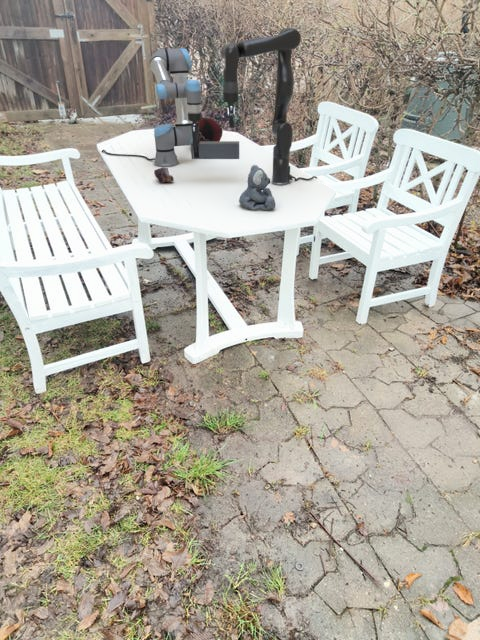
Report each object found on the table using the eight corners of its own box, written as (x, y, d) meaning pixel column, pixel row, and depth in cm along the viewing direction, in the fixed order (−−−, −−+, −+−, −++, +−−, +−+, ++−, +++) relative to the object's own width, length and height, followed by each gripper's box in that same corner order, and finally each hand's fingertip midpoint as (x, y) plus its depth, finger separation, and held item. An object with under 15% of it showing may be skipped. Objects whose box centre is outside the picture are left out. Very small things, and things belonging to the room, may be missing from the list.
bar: (191, 159, 256) (190, 143, 251) (192, 156, 260) (191, 141, 255) (239, 159, 255) (238, 143, 250) (239, 156, 259) (239, 141, 254)
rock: (168, 180, 269) (152, 182, 265) (166, 165, 265) (150, 167, 261) (175, 182, 260) (159, 184, 256) (174, 166, 256) (157, 168, 252)
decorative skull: (188, 123, 330) (185, 120, 306) (219, 116, 329) (218, 112, 306) (194, 153, 337) (192, 152, 313) (225, 146, 336) (225, 145, 313)
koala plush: (276, 211, 223) (277, 171, 212) (240, 212, 222) (240, 172, 211) (271, 199, 237) (272, 161, 226) (237, 200, 236) (237, 162, 225)
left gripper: (199, 115, 236) (201, 160, 250) (203, 109, 251) (205, 152, 264) (185, 115, 237) (188, 160, 250) (189, 109, 251) (192, 152, 264)
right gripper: (238, 93, 218) (239, 128, 227) (237, 89, 230) (238, 122, 239) (223, 93, 218) (224, 128, 227) (223, 89, 230) (223, 123, 239)
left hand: (197, 156), depth 257 cm, fingers closed on bar, 4 cm apart
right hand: (231, 125), depth 233 cm, fingers open, 8 cm apart
